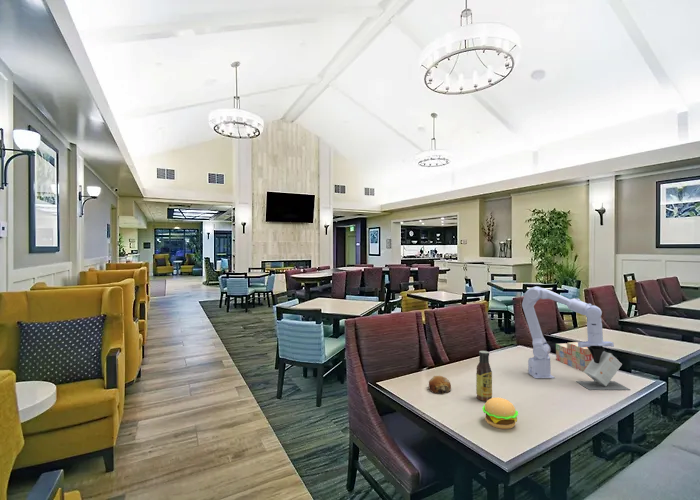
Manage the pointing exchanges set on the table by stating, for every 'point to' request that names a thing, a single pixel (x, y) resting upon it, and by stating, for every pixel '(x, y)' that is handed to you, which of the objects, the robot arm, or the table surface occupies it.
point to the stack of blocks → (573, 355)
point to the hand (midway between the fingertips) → (596, 362)
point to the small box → (603, 368)
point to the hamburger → (500, 413)
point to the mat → (596, 386)
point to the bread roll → (439, 385)
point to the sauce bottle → (484, 377)
